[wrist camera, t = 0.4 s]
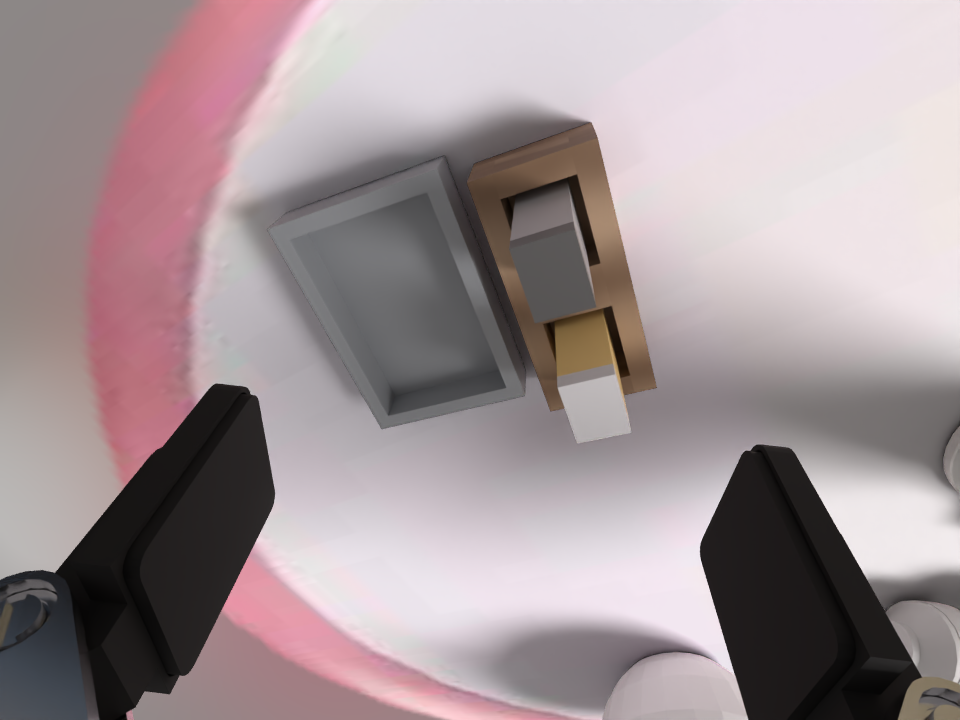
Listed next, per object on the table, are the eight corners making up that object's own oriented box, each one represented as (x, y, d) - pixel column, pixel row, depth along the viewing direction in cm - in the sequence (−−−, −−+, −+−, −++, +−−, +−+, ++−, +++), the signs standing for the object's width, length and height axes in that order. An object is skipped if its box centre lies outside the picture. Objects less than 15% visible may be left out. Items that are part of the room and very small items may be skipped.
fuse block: (646, 354, 39) (656, 387, 36) (549, 377, 41) (550, 411, 37) (591, 122, 31) (597, 137, 28) (474, 163, 33) (466, 182, 30)
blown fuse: (584, 237, 34) (596, 307, 26) (536, 251, 35) (535, 323, 27) (566, 173, 32) (574, 229, 24) (516, 190, 33) (509, 249, 25)
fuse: (613, 345, 38) (631, 432, 30) (570, 356, 38) (577, 444, 31) (599, 294, 36) (615, 374, 28) (554, 306, 36) (557, 387, 29)
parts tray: (525, 371, 41) (524, 395, 38) (390, 404, 44) (381, 429, 41) (444, 155, 33) (436, 168, 30) (285, 212, 36) (266, 229, 33)
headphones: (841, 587, 50) (820, 673, 62) (884, 683, 44) (852, 757, 56) (1089, 566, 46) (1014, 663, 58) (1173, 669, 40) (1070, 753, 52)
